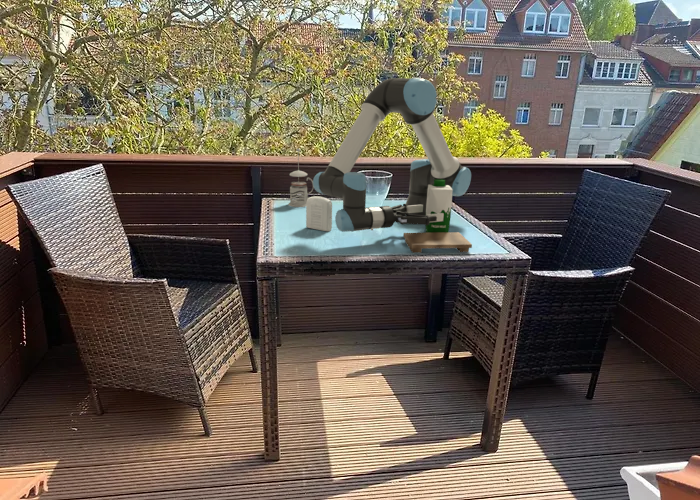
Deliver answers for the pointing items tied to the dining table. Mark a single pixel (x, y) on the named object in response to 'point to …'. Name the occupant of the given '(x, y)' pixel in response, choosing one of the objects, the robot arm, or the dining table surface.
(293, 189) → the french press
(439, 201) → the soya milk
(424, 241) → the stand
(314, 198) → the photo printer
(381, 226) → the robot arm
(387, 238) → the dining table surface
